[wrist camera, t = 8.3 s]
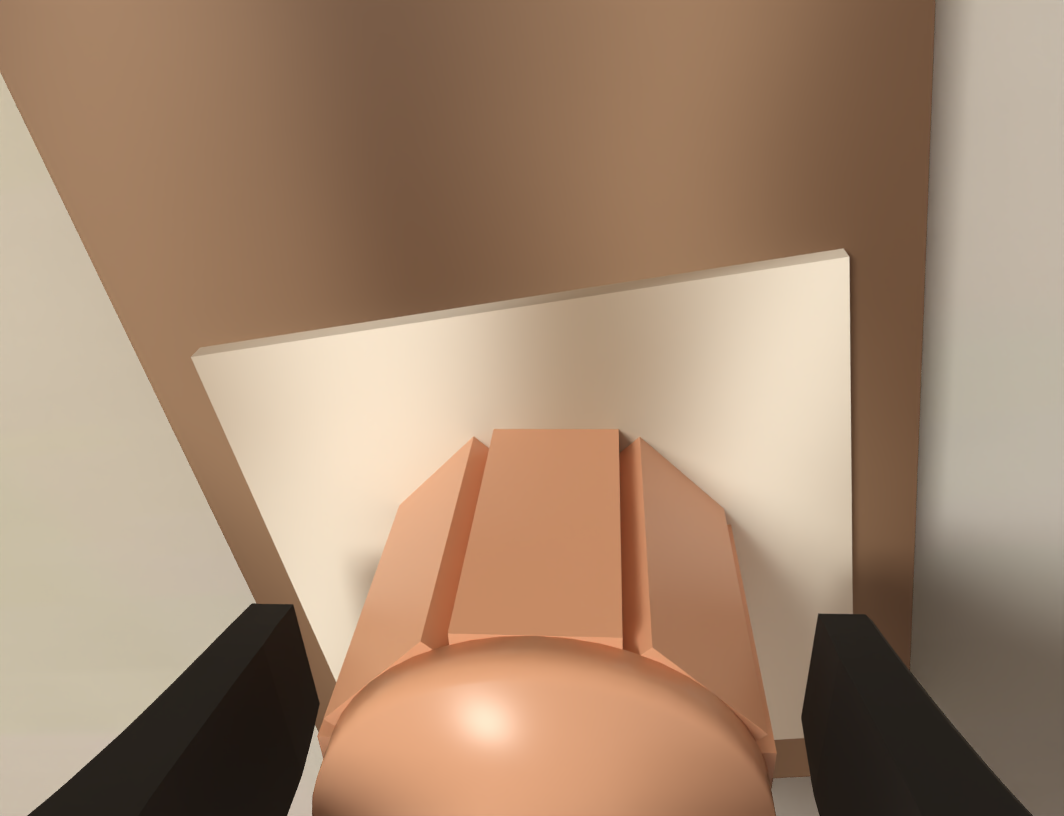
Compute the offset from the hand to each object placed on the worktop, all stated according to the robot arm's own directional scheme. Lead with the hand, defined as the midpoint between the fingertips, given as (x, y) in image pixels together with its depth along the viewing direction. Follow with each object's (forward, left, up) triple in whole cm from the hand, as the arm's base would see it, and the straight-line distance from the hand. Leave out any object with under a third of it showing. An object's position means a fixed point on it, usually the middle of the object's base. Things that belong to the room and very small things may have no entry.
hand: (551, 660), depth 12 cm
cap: (0, 0, -2) cm, 2 cm away
